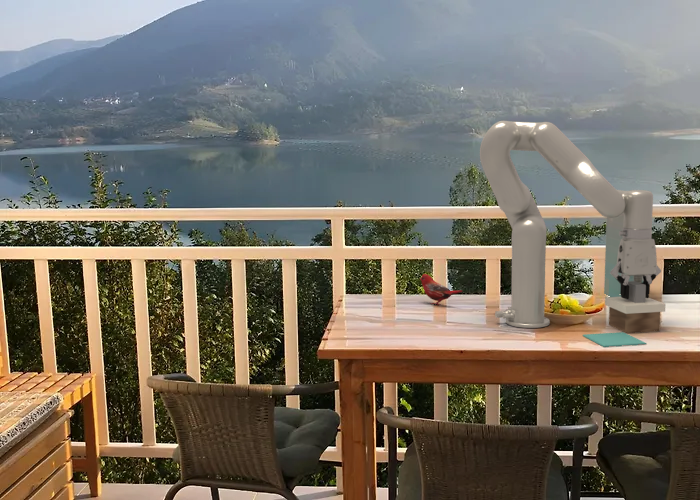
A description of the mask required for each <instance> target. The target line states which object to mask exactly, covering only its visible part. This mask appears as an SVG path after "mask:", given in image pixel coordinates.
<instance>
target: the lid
mask: <svg viewBox="0 0 700 500" xmlns="http://www.w3.org/2000/svg"><path fill="white" fill-rule="evenodd" d="M628 285H629V299H624V298H622V297H608V296H606V297H604V305H605V306H607V307H611V308H613V309H616V310H618V311H620V312H623V313H625V314H631V313H648V312H660V313H665V312H666V303H665V302H661V301H659V300H656V299H653V298H651V297H649V298H645V296H646V285H645V284H642V283H639V282H636V281H628Z"/></svg>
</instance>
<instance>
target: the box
mask: <svg viewBox="0 0 700 500" xmlns="http://www.w3.org/2000/svg"><path fill="white" fill-rule="evenodd" d="M608 307H609V306H608ZM608 309H609V310H608V326H610V327H612V328H614V329H616V330H618V331H620V332H624V333H626V334H636V333H635V332H640V333H654V332H655V333H656V332H660V331H661V330H660V328H661V312H648V313H631V314H625V313H623V312H620V311H618V310H616V309H613V308H611V307H609V308H608Z"/></svg>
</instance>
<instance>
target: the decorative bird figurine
mask: <svg viewBox="0 0 700 500" xmlns="http://www.w3.org/2000/svg"><path fill="white" fill-rule="evenodd" d="M419 281H421V285H422V288H423V290H424V293H425V295H426V296H427V297H428V298H430V299H431V300H433V301H434V302H430V304H431V305H433V304H437V305H436V306H439V305H440V306H441V305H442V304H441V302H442V301H443V300H448V299H449V298H450V297H452V296H453V295H456V294H459V293H462V292H463V290H451V289H450V288H448V287H446V286H445V285H443V284H441V283H439V282H437V281H435V280H434V279H433V278H432V277H431V276H430V275H429V274H427V273H423V274H422V276H421V277H420V278H419Z"/></svg>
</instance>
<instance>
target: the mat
mask: <svg viewBox="0 0 700 500" xmlns="http://www.w3.org/2000/svg"><path fill="white" fill-rule="evenodd" d="M582 337H583V338H586V339H587V340H590V341H591V342H592V343H593V342H594V343H595V344H597V345H599V346H601V347H602V346H603V348H610V347H609V346H616V347H623V346H622V345H632V346H639V345H638V344H646V345H647V342H645V341H643V340H640V339H638V338H637V337H634V336H633V335H631V334H629V333H625V332H623V331H620V332H603V333H601V332H600V333H589V334H587V333H586V334H582Z"/></svg>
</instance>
